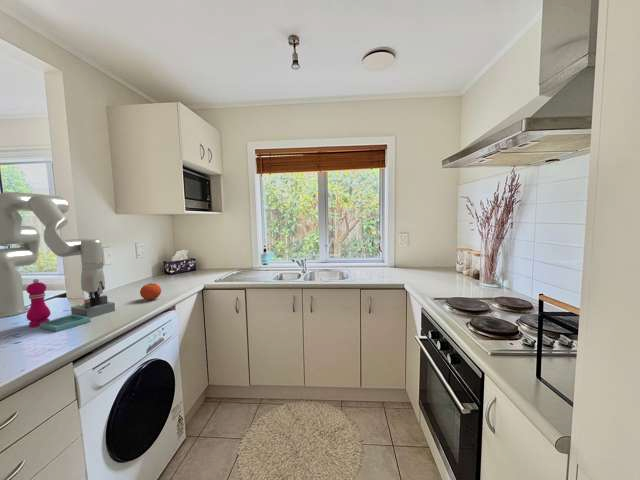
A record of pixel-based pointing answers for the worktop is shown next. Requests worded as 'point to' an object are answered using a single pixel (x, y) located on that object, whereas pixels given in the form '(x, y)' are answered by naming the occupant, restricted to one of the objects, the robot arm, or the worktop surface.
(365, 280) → the worktop surface
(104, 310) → the breaker panel
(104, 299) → the block
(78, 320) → the tray
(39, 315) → the pepper mill
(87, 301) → the tagged breaker
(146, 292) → the tomato
